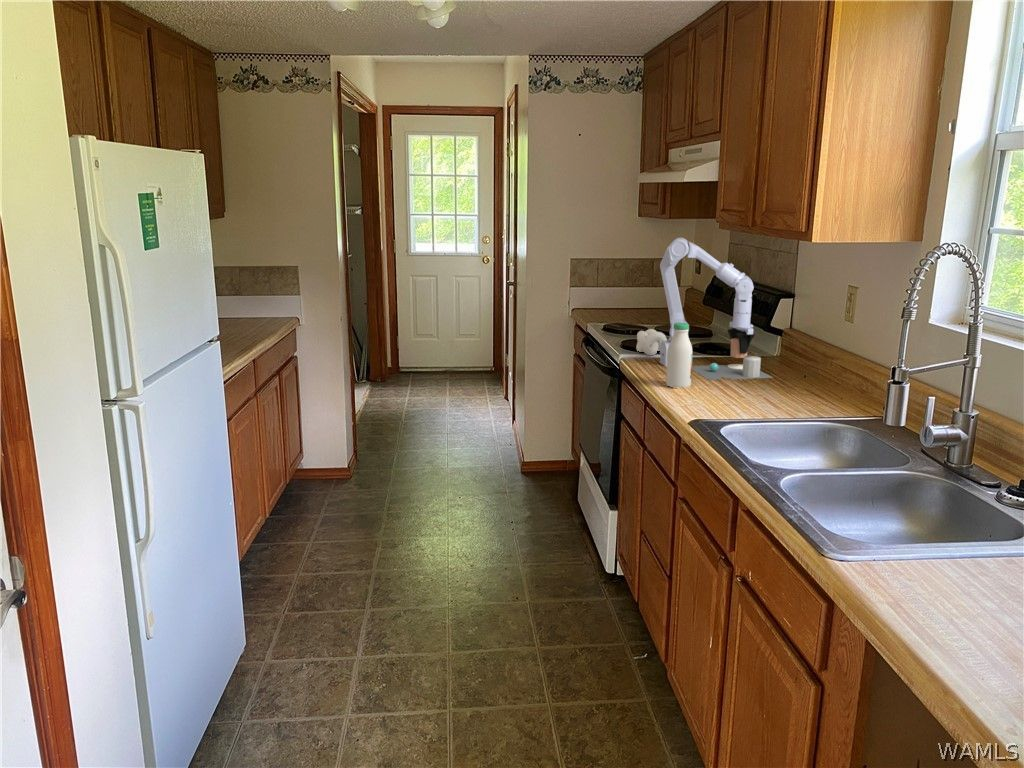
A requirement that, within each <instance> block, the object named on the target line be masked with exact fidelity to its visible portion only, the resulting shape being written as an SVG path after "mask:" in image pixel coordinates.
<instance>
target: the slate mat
mask: <svg viewBox="0 0 1024 768" xmlns="http://www.w3.org/2000/svg"><path fill="white" fill-rule="evenodd" d="M718 366H719V368H718V370H717V371H716V372H712V371H711V370H710V368H709V367H710V365H692V371H694V372H695V373H697V374H698V375H700V376H702V377H703V378H705V379H706V380H708V381H721V380H720V378H721V377H724V378H732V379H731V380H751V379H753V380H755V379H754V378H756V379H774V377H773V376H772V375H769V374H767V373H765V372H763V371H762V370H760V376H759V377H745V376H743V375H742V372H743V363H742V364H739V363H732V364H731V363H730V364H718ZM717 379H719V380H717Z"/></svg>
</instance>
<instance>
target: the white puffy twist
mask: <svg viewBox="0 0 1024 768" xmlns="http://www.w3.org/2000/svg"><path fill="white" fill-rule="evenodd" d="M667 340H668V339H667V336H666V334H665V333H663V332H662V331H657V330H656V329H654V328H649V329H647V330H645V331H644V330H639V331H638V332H637V334H636V341H637V343H636V347H635V349H636V351H637V352H638V351H639V352H644V353H643V354H645V355H647V356H649V355H650V356H649V357H652V355H653V356H655V355H656V354H658V353H657V351H660V350H661V343H662V342H663V341H667ZM639 352H638V353H639Z"/></svg>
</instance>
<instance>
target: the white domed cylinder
mask: <svg viewBox="0 0 1024 768" xmlns="http://www.w3.org/2000/svg"><path fill="white" fill-rule="evenodd" d="M742 359H743V361H742V364H743V372H742V375H743V376H745V377H759V376H760V371H761V363H762V357H761V356H756V355H747V356H745V357H744V358H742Z"/></svg>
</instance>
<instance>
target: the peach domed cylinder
mask: <svg viewBox="0 0 1024 768" xmlns="http://www.w3.org/2000/svg"><path fill="white" fill-rule="evenodd" d="M745 356H748V352H747V353H742V354H741V353H740V350H739V339H738V338H732V339H731V338H730V357H731V358H735V359H744V357H745Z"/></svg>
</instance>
